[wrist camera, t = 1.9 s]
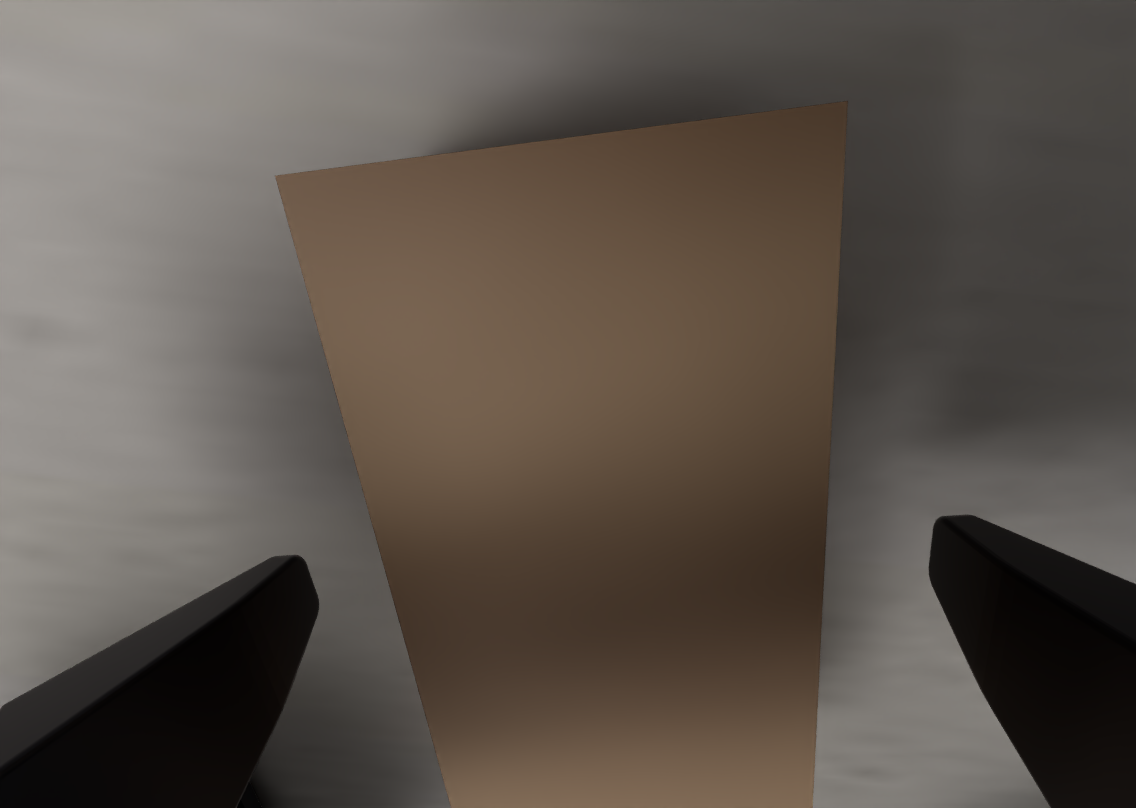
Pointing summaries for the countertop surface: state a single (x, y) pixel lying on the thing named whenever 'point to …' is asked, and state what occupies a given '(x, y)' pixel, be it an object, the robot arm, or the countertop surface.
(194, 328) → the countertop surface
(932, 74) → the countertop surface
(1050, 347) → the countertop surface
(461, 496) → the brown rectangular block
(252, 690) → the robot arm
